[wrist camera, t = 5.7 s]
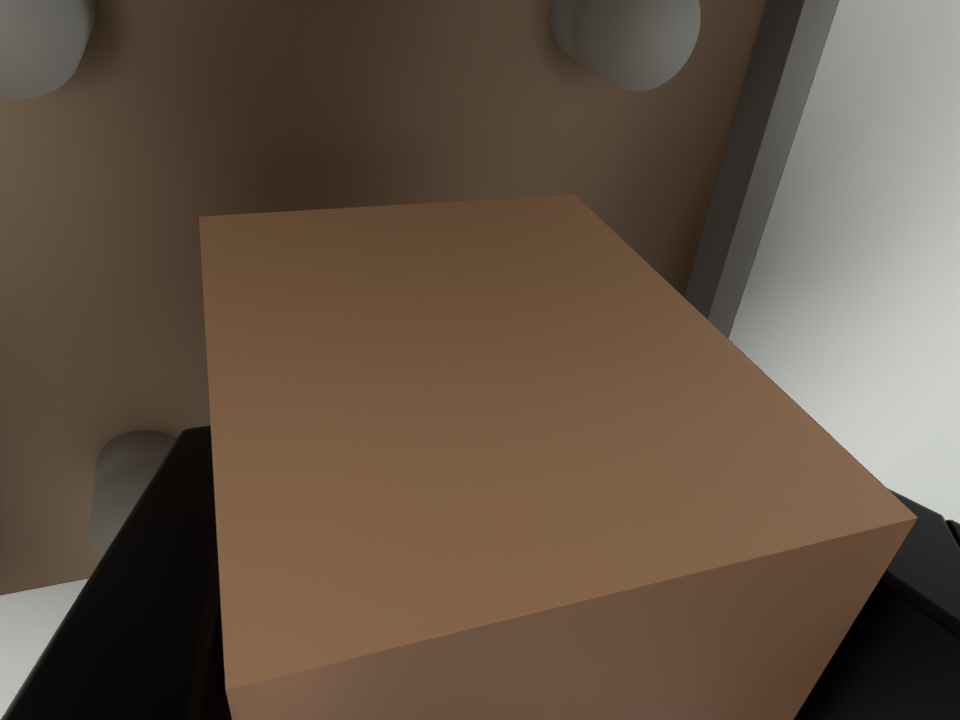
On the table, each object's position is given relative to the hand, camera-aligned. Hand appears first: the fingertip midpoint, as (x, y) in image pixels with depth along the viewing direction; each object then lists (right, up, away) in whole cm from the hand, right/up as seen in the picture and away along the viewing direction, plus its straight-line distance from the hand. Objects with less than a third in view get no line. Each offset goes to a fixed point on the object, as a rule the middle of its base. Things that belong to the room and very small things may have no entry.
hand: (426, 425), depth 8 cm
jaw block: (0, +1, +1) cm, 1 cm away
